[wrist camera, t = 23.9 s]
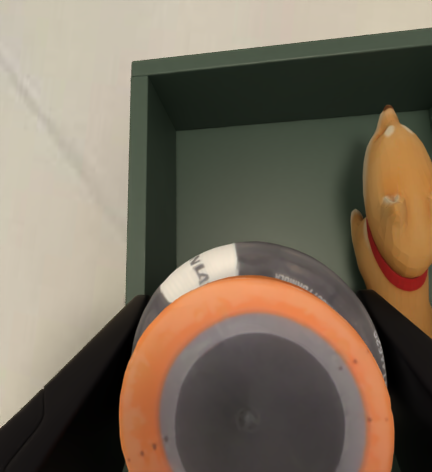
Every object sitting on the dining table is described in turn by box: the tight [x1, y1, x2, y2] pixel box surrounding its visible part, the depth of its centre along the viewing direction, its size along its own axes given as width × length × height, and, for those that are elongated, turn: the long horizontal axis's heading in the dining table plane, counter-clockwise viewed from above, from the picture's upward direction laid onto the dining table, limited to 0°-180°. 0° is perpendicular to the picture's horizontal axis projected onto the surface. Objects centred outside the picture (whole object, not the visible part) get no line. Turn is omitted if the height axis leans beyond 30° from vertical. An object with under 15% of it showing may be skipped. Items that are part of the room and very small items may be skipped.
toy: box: [350, 105, 432, 472], centre depth 13 cm, size 3×17×5 cm, turn 2°
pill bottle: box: [119, 241, 395, 472], centre depth 10 cm, size 6×6×11 cm
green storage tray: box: [123, 28, 432, 472], centre depth 14 cm, size 22×16×6 cm
